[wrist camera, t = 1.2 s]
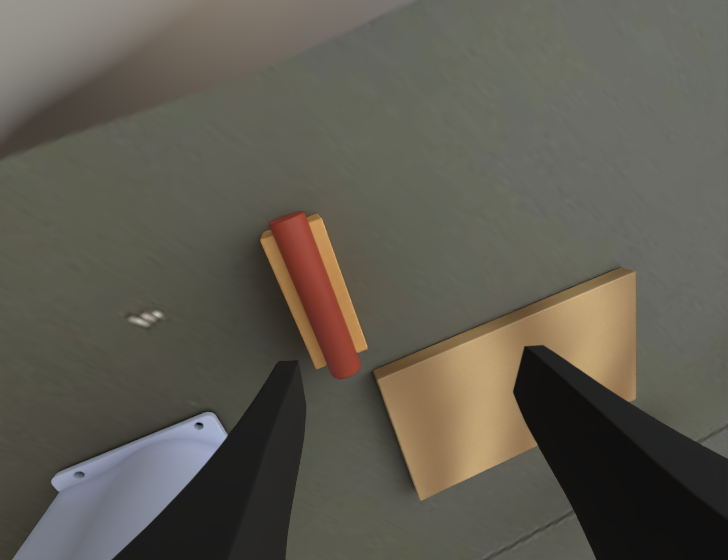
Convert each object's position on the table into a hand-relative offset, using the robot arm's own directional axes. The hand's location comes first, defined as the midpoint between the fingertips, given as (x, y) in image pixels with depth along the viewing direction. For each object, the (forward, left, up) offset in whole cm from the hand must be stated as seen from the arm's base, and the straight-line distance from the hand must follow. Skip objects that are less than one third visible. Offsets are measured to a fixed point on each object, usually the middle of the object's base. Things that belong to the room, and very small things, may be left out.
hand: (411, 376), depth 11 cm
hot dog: (-2, +1, -10) cm, 10 cm away
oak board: (+9, -12, -10) cm, 19 cm away
